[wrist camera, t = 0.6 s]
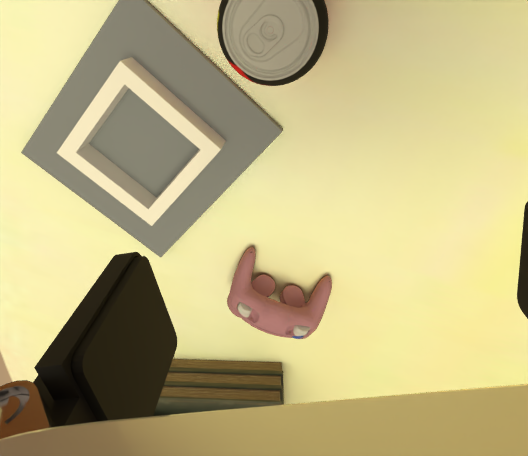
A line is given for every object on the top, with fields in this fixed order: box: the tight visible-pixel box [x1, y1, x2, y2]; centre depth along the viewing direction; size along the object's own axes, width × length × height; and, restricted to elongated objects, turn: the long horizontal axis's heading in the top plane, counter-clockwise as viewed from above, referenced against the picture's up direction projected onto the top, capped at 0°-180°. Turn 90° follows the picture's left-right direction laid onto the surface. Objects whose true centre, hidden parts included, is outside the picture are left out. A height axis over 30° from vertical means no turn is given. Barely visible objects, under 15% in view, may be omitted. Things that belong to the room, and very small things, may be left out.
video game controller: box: [227, 247, 332, 339], centre depth 43 cm, size 10×5×7 cm, turn 69°
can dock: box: [21, 0, 283, 257], centre depth 37 cm, size 18×16×3 cm
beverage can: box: [217, 0, 328, 86], centre depth 28 cm, size 6×6×12 cm
